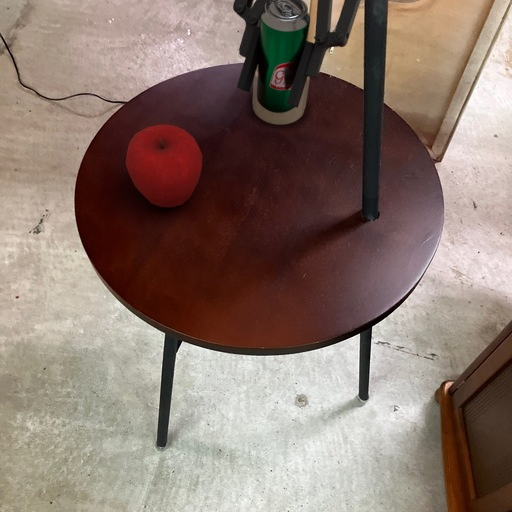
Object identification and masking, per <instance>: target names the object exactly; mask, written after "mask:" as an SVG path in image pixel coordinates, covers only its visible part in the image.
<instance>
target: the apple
mask: <svg viewBox="0 0 512 512" xmlns="http://www.w3.org/2000/svg"><path fill="white" fill-rule="evenodd" d="M198 144H199V143H198V142H197V141H196V139H195V137H194V136H193V135H192V134H190V133H189V132H188V131H187V130H185V129H183V128H181V127H179V126H176V125H173V124H156V125H151V126H147V127H145V128H143V129H141V130H140V131H138V132H136V133H135V134H134V135H133V136H132V138H131V140H130V141H129V143H128V146H127V151H126V158H125V166H126V169H127V172H128V175H129V177H130V179H131V181H132V183H133V185H134V187H135V188H136V189H137V191H139V193H141V195H142V196H143V197H144V198H145V199H146V200H147V201H148V202H149V203H150V204H151V205H155V206H157V207H159V208H174V207H178V206H182V205H183V204H184V203H186V202H187V201H188V200H189V199H191V196H192V194H193V193H194V192H195V189H196V187H197V185H198V183H199V181H200V177H201V174H202V169H203V153H202V151H201V148H200V146H199V145H198Z"/></svg>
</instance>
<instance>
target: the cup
mask: <svg viewBox="0 0 512 512" xmlns="http://www.w3.org/2000/svg"><path fill="white" fill-rule="evenodd" d="M257 78H258V66H257V69H256V73H255V76H254V79H253V83H252V86H253V87H252V110H253V112H254V113H255V115H256V117H258V118H259V119H261V120H262V121H264V122H266V123H268V124H271V125H279V126H283V125H289V124H292V123H295V122H297V121H298V120H300V119H301V118H302V116H303V115H304V114H305V110H306V107H307V100H308V94H309V86H310V78H311V77H308V78H307V81H306V84H305V87H304V90H303V93H302V96H301V99H300V102H299V106H298V108H297V107H295V108H293V109H292V110H290V111H288V112H284V113H274V112H270V111H268V110H266V109H265V108H263V107H262V106H261V105H260V104H259V102H258V100H257Z"/></svg>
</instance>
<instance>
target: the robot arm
mask: <svg viewBox="0 0 512 512" xmlns="http://www.w3.org/2000/svg"><path fill="white" fill-rule="evenodd" d="M267 1H268V0H234V1H233V5H232V9H233V12H234V13H235V14H236V15H238V16H239V17H240V18H241V19H242V20H244V22H245V27H244V30H243V34H242V37H241V41H240V44H239V48H238V54H239V56H241V57H242V58H244V61H243V64H242V68H241V70H240V75H239V78H238V82H237V85H236V88H237V89H239V90H241V91H243V92H247V93H250V92H251V90H252V86H253V79H254V76H255V73H256V69H257V66H258V57H259V36H260V15H261V12H262V10H263V9H264V8H265V4H266V2H267ZM333 1H334V0H317V3H316V5H317V6H316V17H315V18H316V19H315V30H314V31H315V34H314V35H313V39H314V42H312V41H306V44H305V47H304V50H303V53H302V57H301V60H300V63H299V66H298V69H297V72H296V76H295V79H294V82H293V85H292V88H291V91H290V94H289V98H288V101H287V104H289V105H291V106H294V107H297V108H298V106H299V102H300V99H301V96H302V93H303V90H304V87H305V84H306V81H307V78H308V77H310V78H311V79H316V78H317V77H318V76H319V74H320V71H321V68H322V65H323V62H324V60H325V56H326V53H327V51H328V50H329V49H330V48H336V47H337V48H343V47H346V46H347V44H348V41H349V38H350V35H351V33H352V29H353V26H354V23H355V19H356V16H357V13H358V10H359V7H360V3H361V1H362V0H343V4H342V7H341V11H340V14H339V17H338V21H337V24H336V26H335V30H334V31H331V29H332V27H331V26H332V15H333Z"/></svg>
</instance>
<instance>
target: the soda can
mask: <svg viewBox="0 0 512 512" xmlns="http://www.w3.org/2000/svg"><path fill="white" fill-rule="evenodd" d="M310 25H311V15H310V13H309V7H308V4H307V3H306V1H304V0H268V1H267V2H266V4H265V8H264V9H263V10H262V12H261V15H260V36H259V57H258V78H257V100H258V102H259V104H260V105H261V106H262V107H263V108H265V109H266V110H268V111H270V112H274V113H284V112H288V111H290V110H292V109H293V108H295V107H294V106H291V105H289V104H287V101H288V98H289V94H290V91H291V88H292V85H293V82H294V79H295V76H296V72H297V69H298V66H299V63H300V60H301V57H302V53H303V50H304V47H305V44H306V41H308V40H309V33H310Z"/></svg>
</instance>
